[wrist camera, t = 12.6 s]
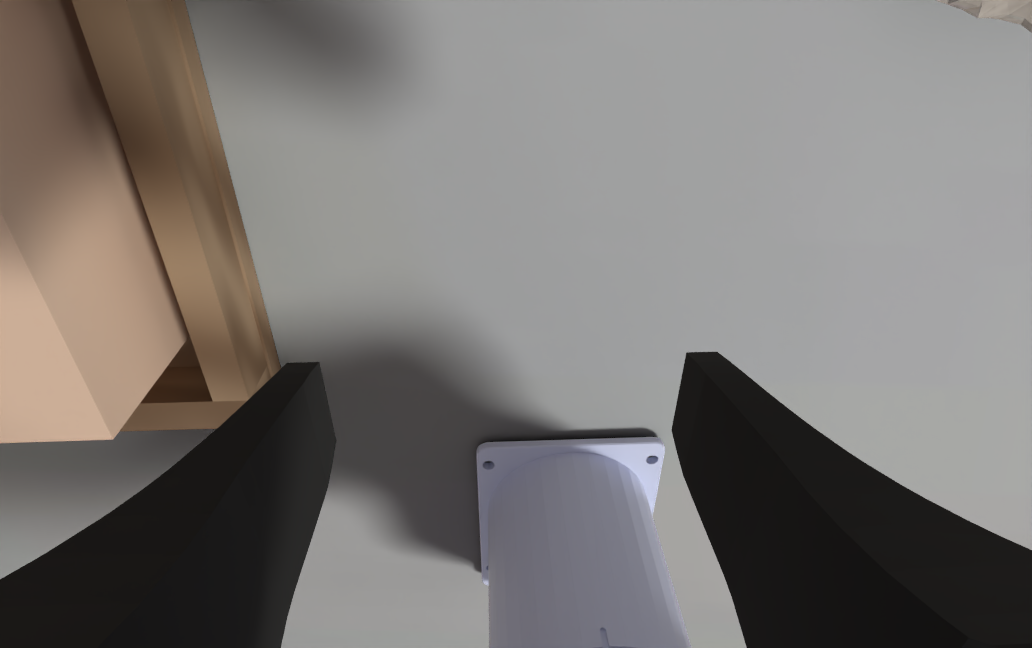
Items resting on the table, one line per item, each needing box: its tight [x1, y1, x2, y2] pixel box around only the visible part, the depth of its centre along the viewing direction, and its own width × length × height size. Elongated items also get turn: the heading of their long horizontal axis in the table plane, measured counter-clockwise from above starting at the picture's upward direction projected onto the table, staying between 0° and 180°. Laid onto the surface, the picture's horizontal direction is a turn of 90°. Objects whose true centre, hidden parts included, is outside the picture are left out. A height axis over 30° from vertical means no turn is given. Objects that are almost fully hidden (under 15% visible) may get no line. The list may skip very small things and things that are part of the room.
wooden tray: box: [72, 0, 281, 431], centre depth 17 cm, size 18×8×3 cm, turn 0°
